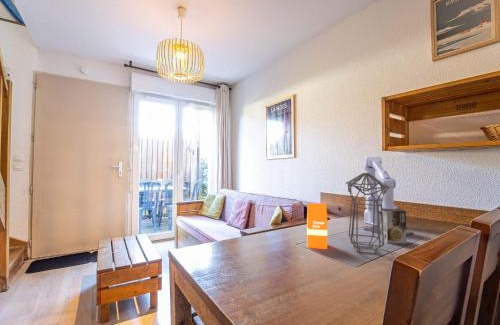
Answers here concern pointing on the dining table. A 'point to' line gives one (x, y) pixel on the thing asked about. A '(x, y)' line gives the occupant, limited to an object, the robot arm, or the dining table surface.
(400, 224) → the coffee box
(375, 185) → the geometric lantern
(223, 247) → the dining table surface
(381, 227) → the stand base
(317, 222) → the orange juice
